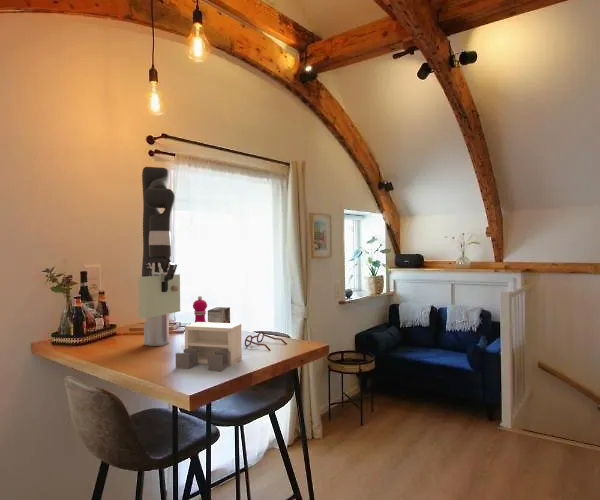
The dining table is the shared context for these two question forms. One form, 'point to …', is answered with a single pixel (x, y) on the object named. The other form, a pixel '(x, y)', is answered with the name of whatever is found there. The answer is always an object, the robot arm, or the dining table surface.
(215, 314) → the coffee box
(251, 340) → the glasses
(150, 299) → the door
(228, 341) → the cabinet
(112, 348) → the dining table surface
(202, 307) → the pepper mill
